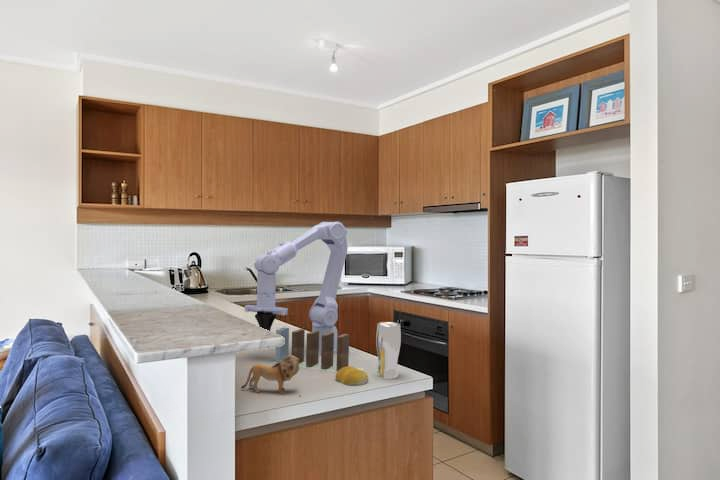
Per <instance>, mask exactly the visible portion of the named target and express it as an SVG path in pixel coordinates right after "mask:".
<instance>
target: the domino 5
mask: <svg viewBox="0 0 720 480" xmlns="http://www.w3.org/2000/svg"><path fill="white" fill-rule="evenodd" d="M349 345H350V334H349V333H343V334H341V335H337V351H336V365H337V368H336V371H339V370H340V369H341V368H343V367H346V366H349V360H350V359H349V356H350V354H349V353H350V351H349V350H350V346H349Z"/></svg>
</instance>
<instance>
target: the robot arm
mask: <svg viewBox="0 0 720 480" xmlns="http://www.w3.org/2000/svg"><path fill="white" fill-rule="evenodd" d="M347 234H348V230H347V229H346V227H345V225H344V224H343V223H342V222H340V221H321V222H320V223H318V224H316V225H315V224H314V226H313V227H311V228H310V229H308V230H307V231H305V232H304V233H303V234H301V235H300V236H299V237H297V238H296V239H294V240H292V242H291V241H287V240H286V241H280V242H279V243H278V245H277V246H276V247H275V248H273V249H269V250H268V251H267V250H266V253H267V254H260V255H259V256H258V257H257V258H256V260H255V263H254V264H253V265H254V268H255V270H256V271H257V280H256V304H246V305H244V313H245V312H246V313H248V312H250V313H256V314H254V319H255V320H256V322H257V323H258V326H259V328H260V327H262V328H264V329H267V330H269V331H270V332H271V330H272V326H273V323H274V322H275V320H276V317H277V315H281V316H287V315H288V309H289V308H287V307H281V306H280V307H279V306H276V288H277V287H276V285H277V281H276V280H277V279H276V278H277V277H276V276H277V272H278V271H279V269H280V267H282V266H283V265H284V264H285V263H287V262H289V261H290V260H292V259H293V258H295V257H297V253H298V251H300V250H301V249H302V248H304V247H307V246H308V245H310V244H312V243H314V242H315V241H317V240H321V241H322V242H323V243H325V244H326V246H327V247H328V248H329V250H330V253H329V257H328V260H327V264H326V270H325V273H324V277H323V280H322V283H321V284H322V285H321V290H320V293H319V295H318V296H317V298H316V299H315V300H314V302H313V304H312V306H311V307H310V309H309V313H308V316H309V319H310V321H311V322H312V323H311V325H312V328H311V330H312V331H314V330H315V331H319V355H321V346H322V335H323V334H326V333H328V332H333V333H334V351H333V354H335V352H336V353H337V337H338V329H337V327H336V326H335V324H336V323H337V322H338V319H339V318H338V317H339V314H338V307H339V305H338V303H337V300H336V297H337V294H338V290H339V285H340V283H341V278H342V273H343V270H344V265H345V261H346V258H347V253H348V249H349V248H348V242H347ZM312 331H311V332H312Z"/></svg>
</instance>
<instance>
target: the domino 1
mask: <svg viewBox="0 0 720 480" xmlns="http://www.w3.org/2000/svg"><path fill="white" fill-rule="evenodd" d="M276 334H279V335H281V336H283V337H284V338H285V344H284V345H283V346H281V347H276V346H275V361H276V362H275V361H274V362H275V363H278V362H280V361H282V360H284V359H286V357H288V356H290V355H289V353H290V352H289V351H290V348H289V347H290V346H289V345H290V327H286V326H284V327H281V328H278V329H276V331H275V335H276Z"/></svg>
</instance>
